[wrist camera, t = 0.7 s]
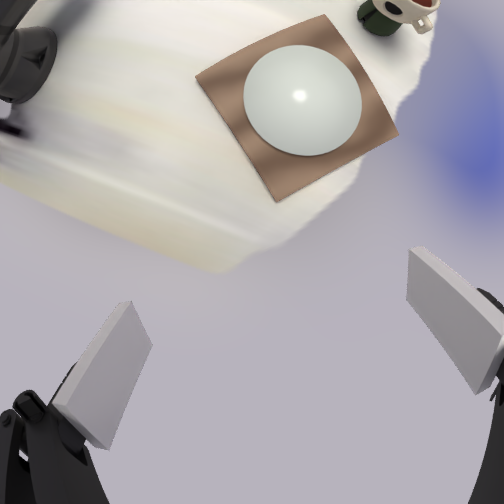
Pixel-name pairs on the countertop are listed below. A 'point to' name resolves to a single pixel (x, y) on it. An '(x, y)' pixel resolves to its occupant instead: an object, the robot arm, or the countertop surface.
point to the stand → (264, 154)
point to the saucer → (302, 100)
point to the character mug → (396, 15)
